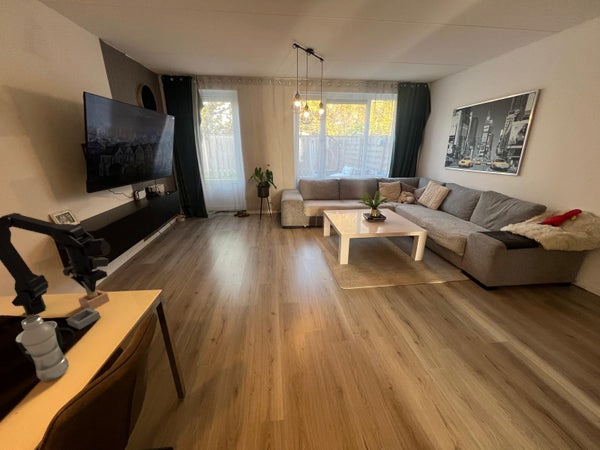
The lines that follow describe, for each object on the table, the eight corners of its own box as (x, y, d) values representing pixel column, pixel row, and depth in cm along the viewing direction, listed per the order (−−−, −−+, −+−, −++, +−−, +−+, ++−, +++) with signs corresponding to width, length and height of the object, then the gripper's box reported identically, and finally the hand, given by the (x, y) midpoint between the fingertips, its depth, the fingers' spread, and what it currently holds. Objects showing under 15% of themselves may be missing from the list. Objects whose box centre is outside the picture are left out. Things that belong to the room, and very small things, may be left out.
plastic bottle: (53, 366, 74) (29, 312, 68) (77, 364, 74) (54, 310, 68) (33, 386, 68) (4, 329, 61) (59, 383, 68) (32, 327, 62)
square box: (81, 308, 100) (77, 298, 98) (100, 299, 106) (97, 289, 105) (91, 312, 98) (88, 302, 96) (110, 302, 104) (107, 292, 102)
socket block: (69, 326, 90) (66, 319, 89) (90, 315, 96) (87, 307, 95) (80, 331, 88) (77, 323, 86) (101, 319, 94) (98, 311, 93)
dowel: (89, 304, 101) (81, 283, 97) (97, 300, 103) (90, 280, 100) (93, 306, 100) (86, 285, 96) (101, 301, 102) (94, 281, 99)
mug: (24, 374, 72) (10, 347, 68) (32, 353, 79) (20, 329, 75) (77, 354, 78) (66, 329, 75) (80, 337, 85) (71, 313, 82)
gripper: (116, 252, 98) (125, 285, 103) (88, 246, 105) (98, 277, 110) (84, 264, 88) (96, 300, 93) (56, 256, 95) (69, 290, 100)
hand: (91, 290), depth 100 cm, fingers closed on dowel, 3 cm apart
